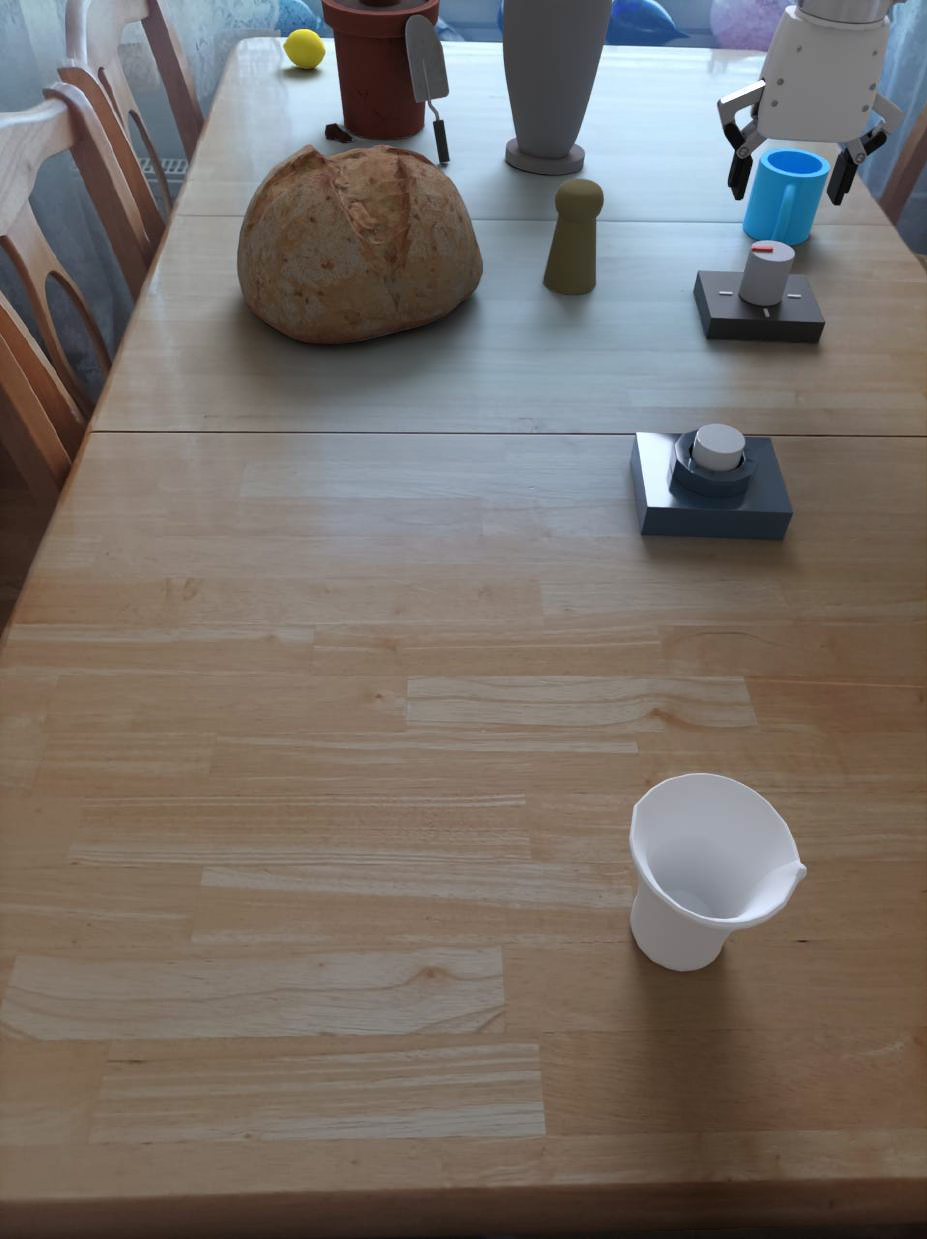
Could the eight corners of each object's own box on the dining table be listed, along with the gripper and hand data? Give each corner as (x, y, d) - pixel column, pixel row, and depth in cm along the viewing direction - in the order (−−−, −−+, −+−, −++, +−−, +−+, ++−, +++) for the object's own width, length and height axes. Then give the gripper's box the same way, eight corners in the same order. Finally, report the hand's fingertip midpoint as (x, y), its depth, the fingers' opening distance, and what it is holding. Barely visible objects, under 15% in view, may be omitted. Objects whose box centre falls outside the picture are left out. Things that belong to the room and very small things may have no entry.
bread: (445, 232, 114) (447, 98, 102) (512, 332, 99) (523, 190, 88) (226, 260, 107) (203, 122, 96) (264, 372, 93) (241, 225, 82)
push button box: (760, 465, 85) (776, 420, 82) (782, 541, 79) (800, 496, 75) (629, 460, 85) (639, 415, 82) (640, 535, 79) (651, 489, 75)
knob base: (798, 295, 106) (805, 273, 104) (818, 343, 99) (826, 321, 97) (693, 290, 106) (698, 268, 104) (705, 339, 99) (711, 316, 97)
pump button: (735, 443, 80) (741, 424, 78) (743, 473, 77) (749, 454, 76) (688, 441, 80) (693, 422, 78) (694, 471, 77) (700, 452, 76)
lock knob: (777, 285, 102) (791, 238, 98) (785, 307, 99) (800, 259, 95) (735, 283, 102) (747, 236, 98) (742, 305, 99) (755, 257, 95)
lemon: (332, 65, 150) (330, 26, 146) (320, 76, 147) (317, 37, 143) (292, 59, 151) (288, 21, 147) (279, 70, 148) (274, 32, 144)
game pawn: (533, 274, 107) (542, 177, 99) (577, 263, 109) (590, 167, 101) (560, 299, 104) (572, 200, 96) (606, 287, 106) (621, 190, 98)
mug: (745, 210, 120) (762, 144, 114) (810, 220, 119) (830, 153, 113) (737, 253, 112) (755, 185, 106) (807, 264, 111) (829, 195, 105)
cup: (743, 1024, 52) (796, 953, 45) (584, 962, 54) (609, 884, 47) (769, 887, 58) (820, 803, 50) (623, 835, 60) (652, 747, 53)
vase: (588, 144, 132) (628, -178, 106) (595, 184, 124) (640, -155, 98) (495, 141, 132) (511, -182, 106) (495, 181, 124) (513, -160, 97)
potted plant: (450, 105, 141) (454, -102, 122) (449, 166, 126) (453, -57, 108) (332, 101, 140) (317, -107, 121) (318, 162, 126) (299, -63, 107)
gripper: (931, -11, 83) (861, 184, 95) (736, -22, 82) (692, 176, 95) (958, 17, 78) (881, 219, 91) (751, 5, 77) (703, 210, 90)
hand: (784, 196), depth 93 cm, fingers open, 9 cm apart
